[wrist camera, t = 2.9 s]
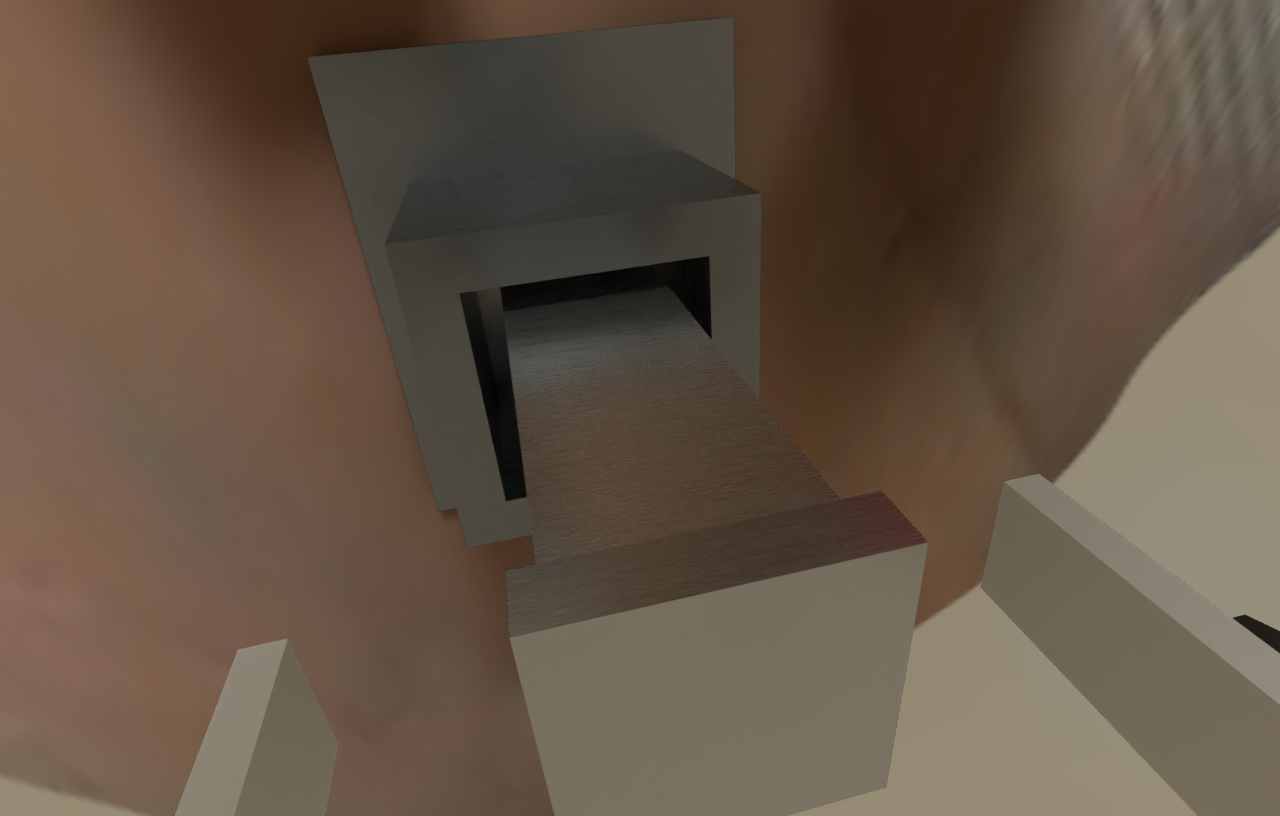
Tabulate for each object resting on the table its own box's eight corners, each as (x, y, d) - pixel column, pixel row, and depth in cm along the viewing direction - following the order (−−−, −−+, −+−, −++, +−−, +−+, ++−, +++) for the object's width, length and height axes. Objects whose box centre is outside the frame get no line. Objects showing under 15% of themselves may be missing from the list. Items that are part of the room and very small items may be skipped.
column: (481, 236, 25) (509, 637, 8) (631, 216, 25) (929, 542, 9) (509, 375, 27) (570, 881, 11) (643, 353, 28) (885, 790, 12)
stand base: (313, 56, 22) (214, 68, 13) (723, 17, 24) (865, 7, 15) (439, 498, 31) (428, 675, 22) (730, 442, 33) (822, 584, 24)
